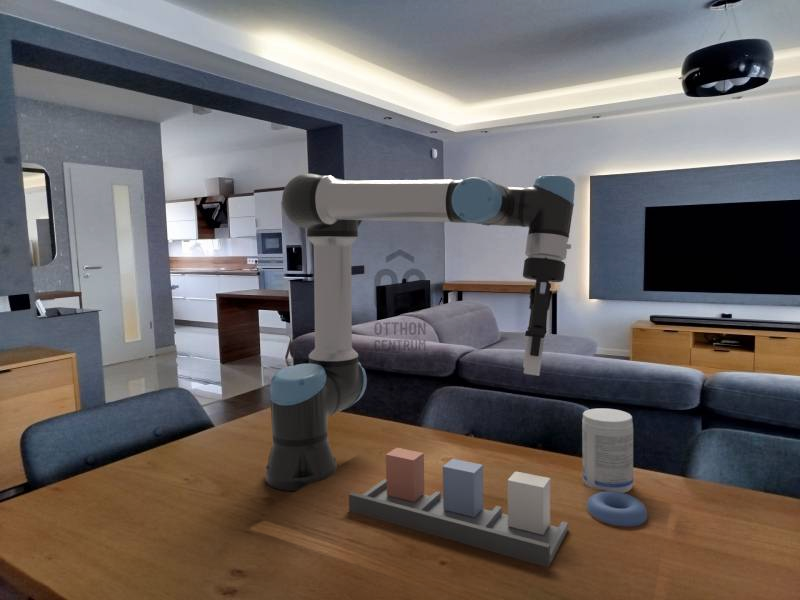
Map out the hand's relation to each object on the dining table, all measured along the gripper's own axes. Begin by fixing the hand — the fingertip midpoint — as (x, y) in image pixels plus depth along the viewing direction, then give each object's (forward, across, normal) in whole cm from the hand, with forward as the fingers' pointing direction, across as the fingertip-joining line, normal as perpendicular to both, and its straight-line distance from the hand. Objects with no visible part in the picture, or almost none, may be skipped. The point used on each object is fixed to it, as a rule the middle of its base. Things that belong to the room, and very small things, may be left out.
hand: (530, 371), depth 101 cm
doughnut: (+24, -2, -18) cm, 30 cm away
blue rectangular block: (+26, -6, +9) cm, 28 cm away
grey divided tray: (+28, -10, +10) cm, 31 cm away
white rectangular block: (+25, -10, -3) cm, 27 cm away
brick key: (+27, -2, +20) cm, 34 cm away
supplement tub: (+22, +12, -18) cm, 31 cm away
